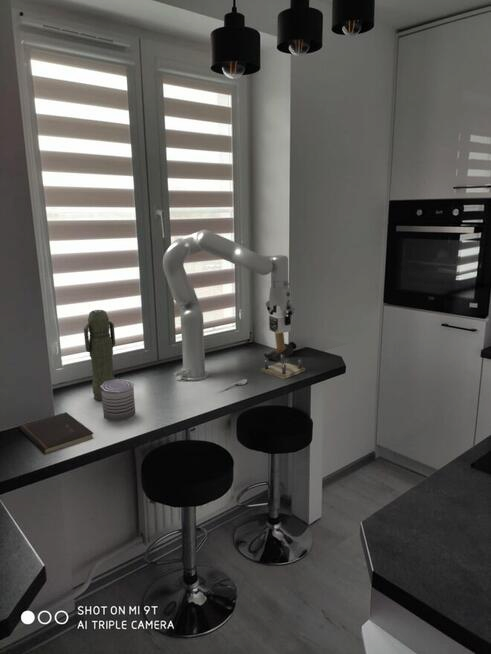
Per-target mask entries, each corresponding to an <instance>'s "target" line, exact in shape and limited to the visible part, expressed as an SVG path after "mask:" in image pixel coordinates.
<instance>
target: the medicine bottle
mask: <svg viewBox="0 0 491 654" xmlns="http://www.w3.org/2000/svg"><path fill="white" fill-rule="evenodd" d="M268 316H269V317H268V321H269V322H268V323H269V324H268V325H269V326H268V327H269V330H268V331H271V332H273V333H274V334H275V333H283V334H284V333H288V332H289V333H291V331H292V323H291V324H290V325H285V316H286V315H285V313H284V311H281V309H280V307H279V306H273V315H270V314H269V315H268Z"/></svg>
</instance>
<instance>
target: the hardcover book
mask: <svg viewBox="0 0 491 654" xmlns="http://www.w3.org/2000/svg"><path fill="white" fill-rule="evenodd" d="M20 431H21V432H22V433H23V434H24V435H25V436H26V437H27V438H29V440H30V441H31V442H32V443H33V444H34V445H35V446H37V448H38V449H40V451H42V453H43V454H45V455H46V454H47V453H50V452H53V451H56V450H60V449H63V448H65V447H68V446H71V445H75V444H77V443H81V442H85V441H86V440H91V439H93V435H94V434H95V433H94V432H93V431H92V430H91V429H89V428H88V427H86V425H84V424H82V423H81V421H79V420H77V419H76V418H74V417H73V416H72V415H71V414H69V413H68V412H67V411H66V412H62V413H59V414H56V415H52V416H48V417H45V418H41V419H37V420H35V421H30V422H27V423H23V424H21V425H20Z"/></svg>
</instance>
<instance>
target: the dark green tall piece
mask: <svg viewBox="0 0 491 654" xmlns="http://www.w3.org/2000/svg"><path fill="white" fill-rule="evenodd" d="M83 335H84V336H83V337H84V345H85V351H86V352H87V353H89V357H90V360H91V368H92V370H91V371H92V385H91V386H92V393H93V399H94V400H95V401H97V402H102V392H101V389H102V388H101V387H100V386H101V385H102V384H103V383H104V382H105V381H110V380H115V379H116V377H115V375H114V363H113V355H114V350H113V348H114V347H115V346H116V337H115V336H116V335H115V325H114V323H113V322H112V321H111V320H110V321H109V315H108V313H107V311H106V310H104V309H95V310H92V311H90V312H89V314H88V318H87V323H86V324H85V326H84V328H83Z"/></svg>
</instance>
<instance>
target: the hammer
mask: <svg viewBox="0 0 491 654" xmlns="http://www.w3.org/2000/svg"><path fill="white" fill-rule="evenodd" d="M274 336H275V337H274V338H275V345H276V348H275V350H273V351H271V352H269V353H268V354H267V353H263V355H264V357H265V358H266V359H267V360H271V361H276V362H277V361H279V360H280V361H281V355H284V359H285V358H288V356H290V355H292V354H293V353H294V350H296V349H297V344H296V343H295V342H293V341H290V342H289V343H285V335H284V333H275V332H274Z"/></svg>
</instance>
